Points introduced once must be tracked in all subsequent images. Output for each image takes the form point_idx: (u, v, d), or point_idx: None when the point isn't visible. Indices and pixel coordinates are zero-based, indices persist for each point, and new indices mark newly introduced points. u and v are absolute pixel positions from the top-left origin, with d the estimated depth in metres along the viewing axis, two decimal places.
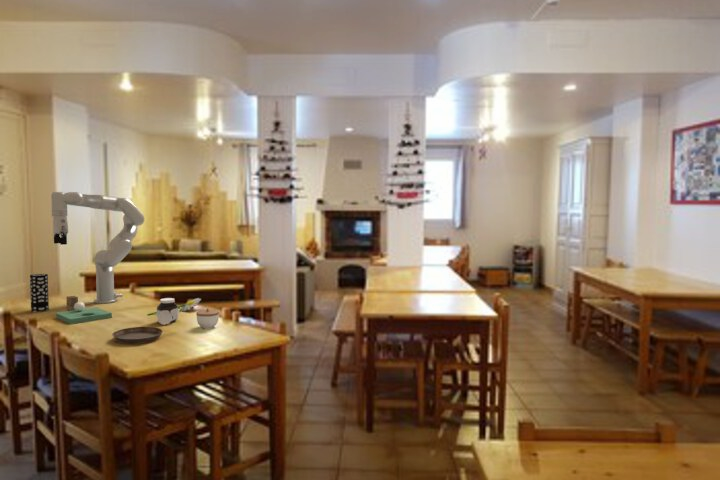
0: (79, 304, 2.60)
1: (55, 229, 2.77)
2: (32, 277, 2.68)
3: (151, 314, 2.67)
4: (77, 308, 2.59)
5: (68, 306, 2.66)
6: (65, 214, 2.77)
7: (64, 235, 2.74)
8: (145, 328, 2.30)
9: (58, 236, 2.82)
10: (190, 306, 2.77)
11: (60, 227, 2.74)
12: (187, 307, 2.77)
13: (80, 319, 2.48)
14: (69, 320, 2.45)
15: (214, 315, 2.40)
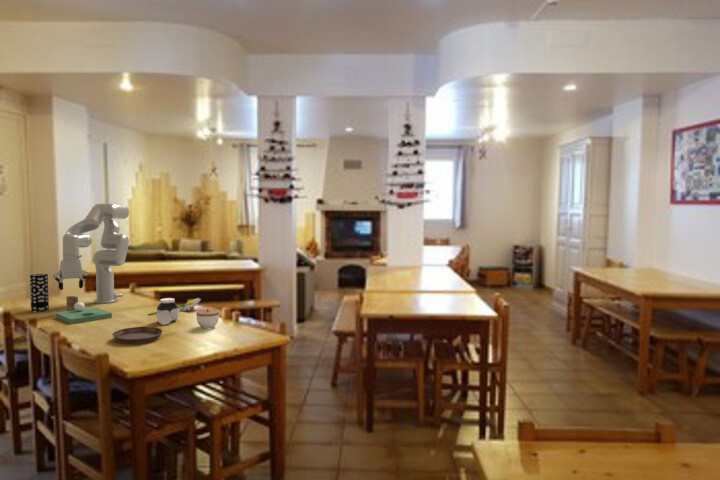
0: (79, 304, 2.60)
1: (72, 274, 2.65)
2: (32, 277, 2.68)
3: (151, 314, 2.67)
4: (77, 308, 2.59)
5: (68, 306, 2.66)
6: None
7: None
8: (145, 328, 2.30)
9: None
10: (190, 306, 2.77)
11: (81, 270, 2.69)
12: (187, 307, 2.77)
13: (80, 319, 2.48)
14: (69, 320, 2.45)
15: (214, 315, 2.40)
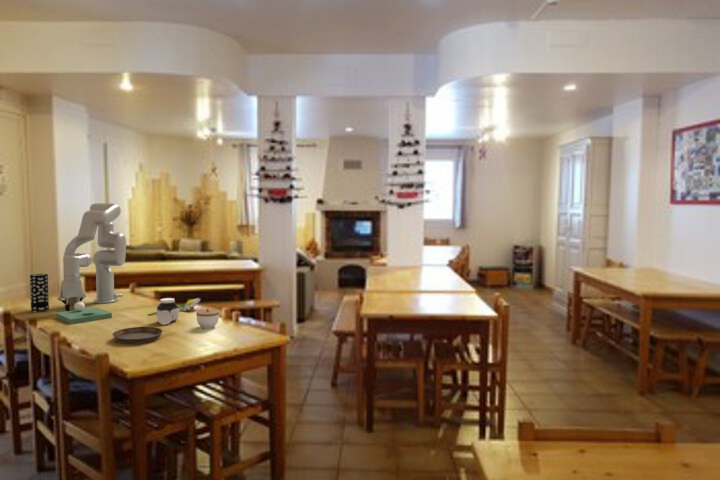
0: (79, 304, 2.60)
1: (73, 294, 2.66)
2: (32, 277, 2.68)
3: (151, 314, 2.66)
4: (77, 308, 2.59)
5: None
6: None
7: None
8: (145, 328, 2.30)
9: None
10: (190, 306, 2.77)
11: (82, 290, 2.70)
12: (187, 307, 2.77)
13: (80, 319, 2.48)
14: (69, 320, 2.45)
15: (214, 315, 2.40)
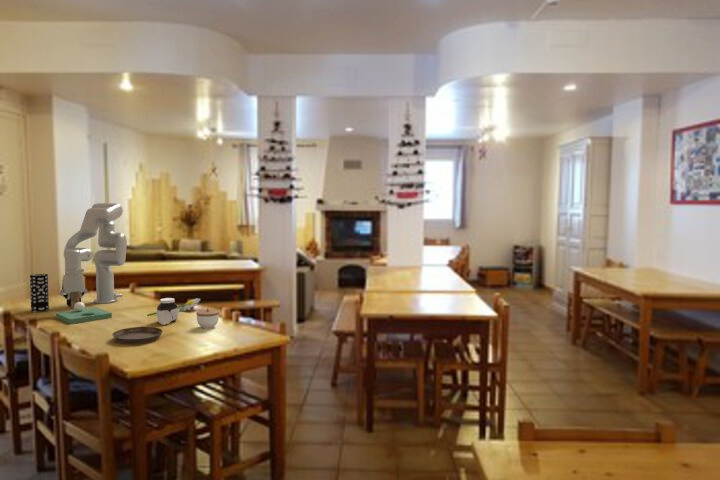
0: (79, 304, 2.60)
1: (75, 288, 2.64)
2: (32, 277, 2.68)
3: (151, 314, 2.66)
4: (77, 308, 2.59)
5: None
6: None
7: None
8: (145, 328, 2.30)
9: None
10: (190, 306, 2.77)
11: None
12: (187, 307, 2.77)
13: (80, 319, 2.48)
14: (69, 320, 2.45)
15: (214, 315, 2.40)
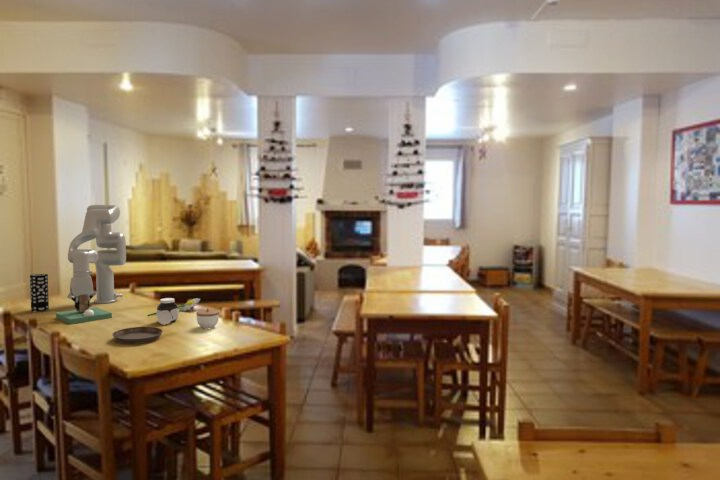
0: None
1: (83, 291, 2.57)
2: (32, 277, 2.68)
3: None
4: None
5: None
6: None
7: None
8: (145, 328, 2.30)
9: None
10: (190, 306, 2.77)
11: (92, 287, 2.61)
12: (187, 307, 2.77)
13: (80, 319, 2.48)
14: (69, 320, 2.45)
15: (214, 315, 2.40)
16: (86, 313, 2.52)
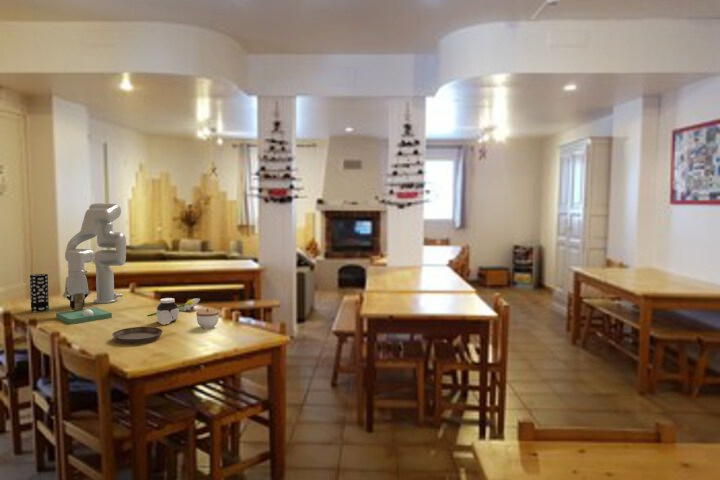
0: None
1: (78, 290, 2.62)
2: (32, 277, 2.68)
3: None
4: (91, 310, 2.56)
5: None
6: None
7: None
8: (145, 328, 2.30)
9: None
10: (190, 306, 2.77)
11: (87, 286, 2.66)
12: (187, 307, 2.77)
13: (80, 319, 2.48)
14: (69, 320, 2.45)
15: (214, 315, 2.40)
16: (85, 313, 2.52)
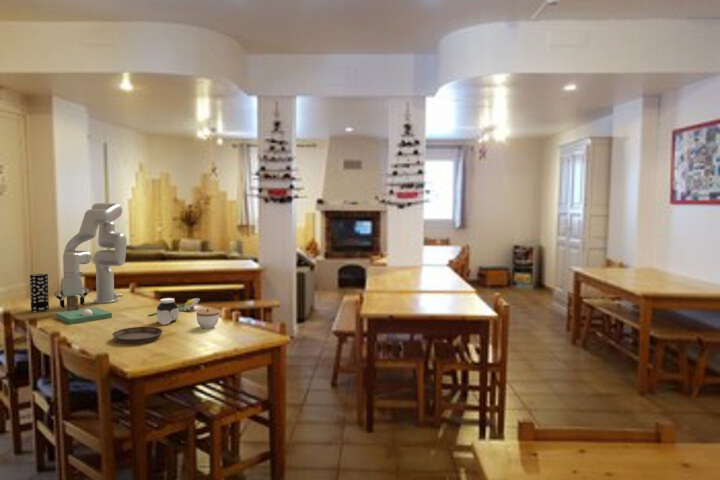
0: None
1: (73, 291, 2.66)
2: (32, 277, 2.68)
3: None
4: (90, 310, 2.56)
5: (68, 306, 2.66)
6: None
7: None
8: (145, 328, 2.30)
9: None
10: (190, 306, 2.77)
11: (82, 287, 2.70)
12: (187, 307, 2.77)
13: (80, 319, 2.48)
14: (69, 320, 2.45)
15: (214, 315, 2.40)
16: (84, 313, 2.52)
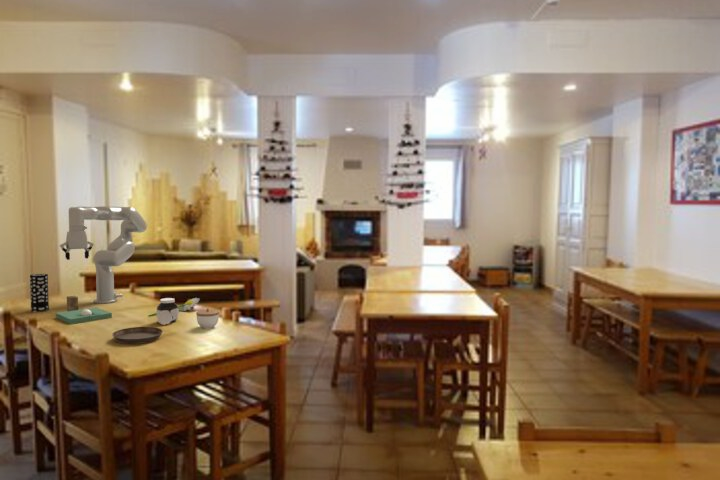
0: None
1: (78, 244, 2.77)
2: (32, 277, 2.68)
3: (152, 315, 2.65)
4: None
5: (68, 306, 2.66)
6: None
7: None
8: (145, 328, 2.30)
9: None
10: (190, 306, 2.77)
11: (87, 241, 2.81)
12: (187, 307, 2.77)
13: (80, 319, 2.48)
14: (69, 320, 2.45)
15: (214, 315, 2.40)
16: (83, 313, 2.53)
